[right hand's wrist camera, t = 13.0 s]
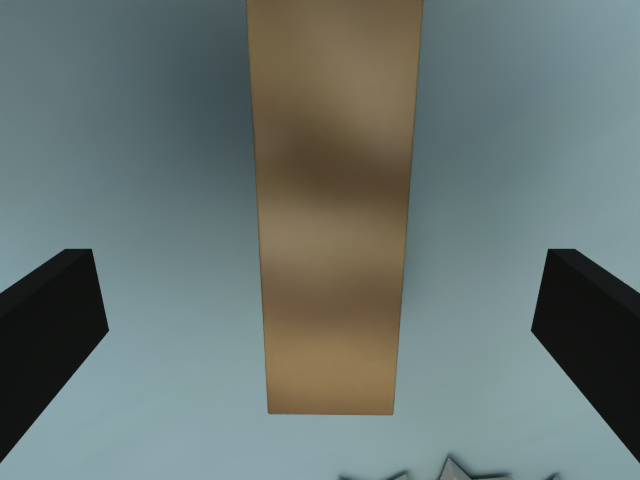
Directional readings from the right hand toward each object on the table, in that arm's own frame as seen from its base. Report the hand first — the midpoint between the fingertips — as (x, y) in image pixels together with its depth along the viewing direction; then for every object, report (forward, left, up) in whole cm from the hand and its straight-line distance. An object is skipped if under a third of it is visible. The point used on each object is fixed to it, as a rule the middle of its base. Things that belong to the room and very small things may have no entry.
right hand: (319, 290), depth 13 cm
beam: (+17, +12, -10) cm, 23 cm away
